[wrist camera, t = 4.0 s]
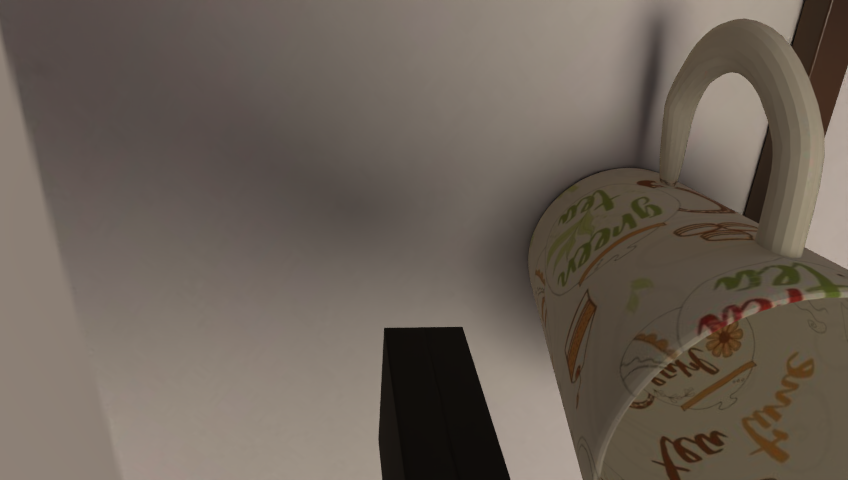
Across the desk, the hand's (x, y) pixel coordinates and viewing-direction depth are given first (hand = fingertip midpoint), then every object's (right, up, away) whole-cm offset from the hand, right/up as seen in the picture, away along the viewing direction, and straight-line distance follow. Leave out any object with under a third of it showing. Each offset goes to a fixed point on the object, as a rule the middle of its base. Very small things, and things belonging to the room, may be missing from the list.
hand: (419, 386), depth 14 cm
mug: (+7, +5, +10) cm, 13 cm away
